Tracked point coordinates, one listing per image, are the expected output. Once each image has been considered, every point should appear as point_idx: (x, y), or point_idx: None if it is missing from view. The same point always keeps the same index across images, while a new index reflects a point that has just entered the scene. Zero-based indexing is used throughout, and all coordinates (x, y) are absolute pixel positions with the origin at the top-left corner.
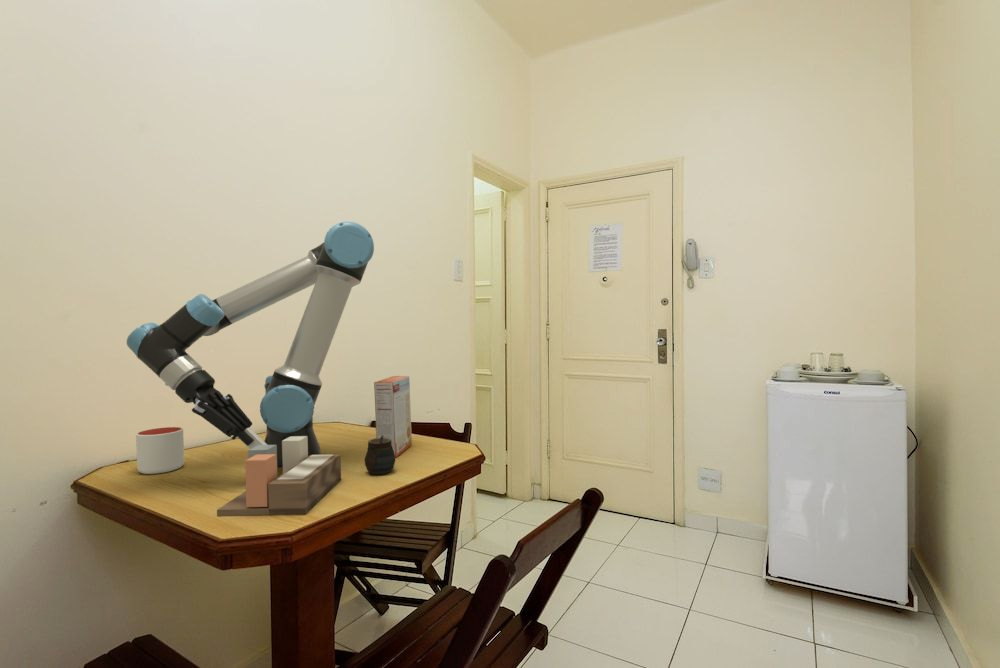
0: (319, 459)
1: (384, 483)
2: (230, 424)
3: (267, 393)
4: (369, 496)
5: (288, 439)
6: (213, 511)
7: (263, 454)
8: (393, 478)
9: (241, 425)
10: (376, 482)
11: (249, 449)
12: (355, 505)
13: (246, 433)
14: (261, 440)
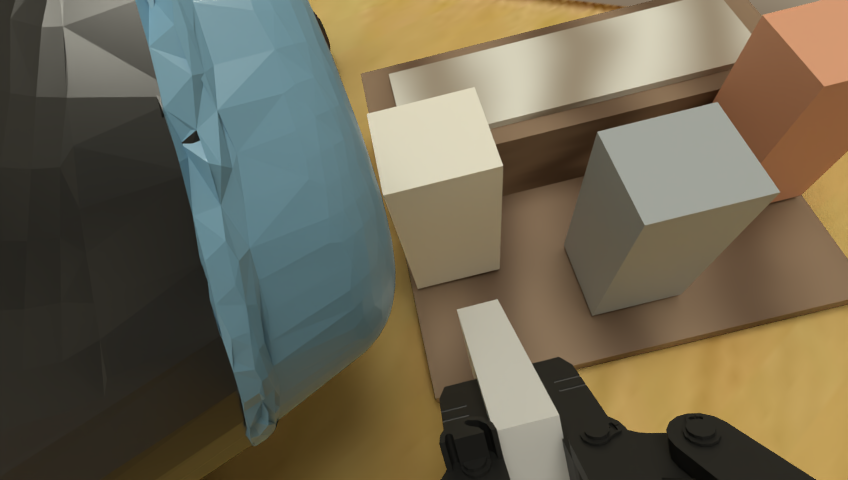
0: (471, 78)
1: (397, 28)
2: (786, 465)
3: (233, 108)
4: (508, 10)
5: (463, 153)
6: (830, 357)
7: (802, 57)
8: (351, 29)
9: (584, 460)
10: (391, 48)
11: (759, 198)
12: (580, 5)
13: (559, 411)
14: (483, 336)
